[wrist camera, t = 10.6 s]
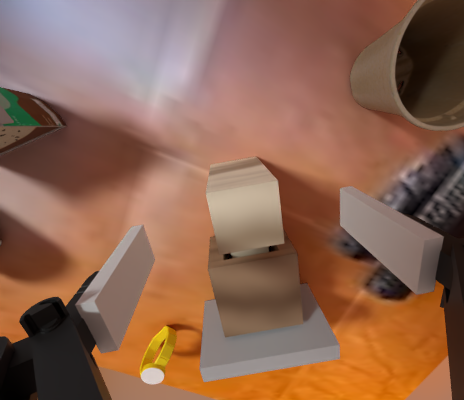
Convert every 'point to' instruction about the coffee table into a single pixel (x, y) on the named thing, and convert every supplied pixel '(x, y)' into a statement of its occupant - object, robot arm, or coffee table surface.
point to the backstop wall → (266, 344)
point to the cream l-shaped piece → (244, 207)
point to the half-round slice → (24, 119)
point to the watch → (156, 370)
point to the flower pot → (417, 67)
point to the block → (256, 289)
